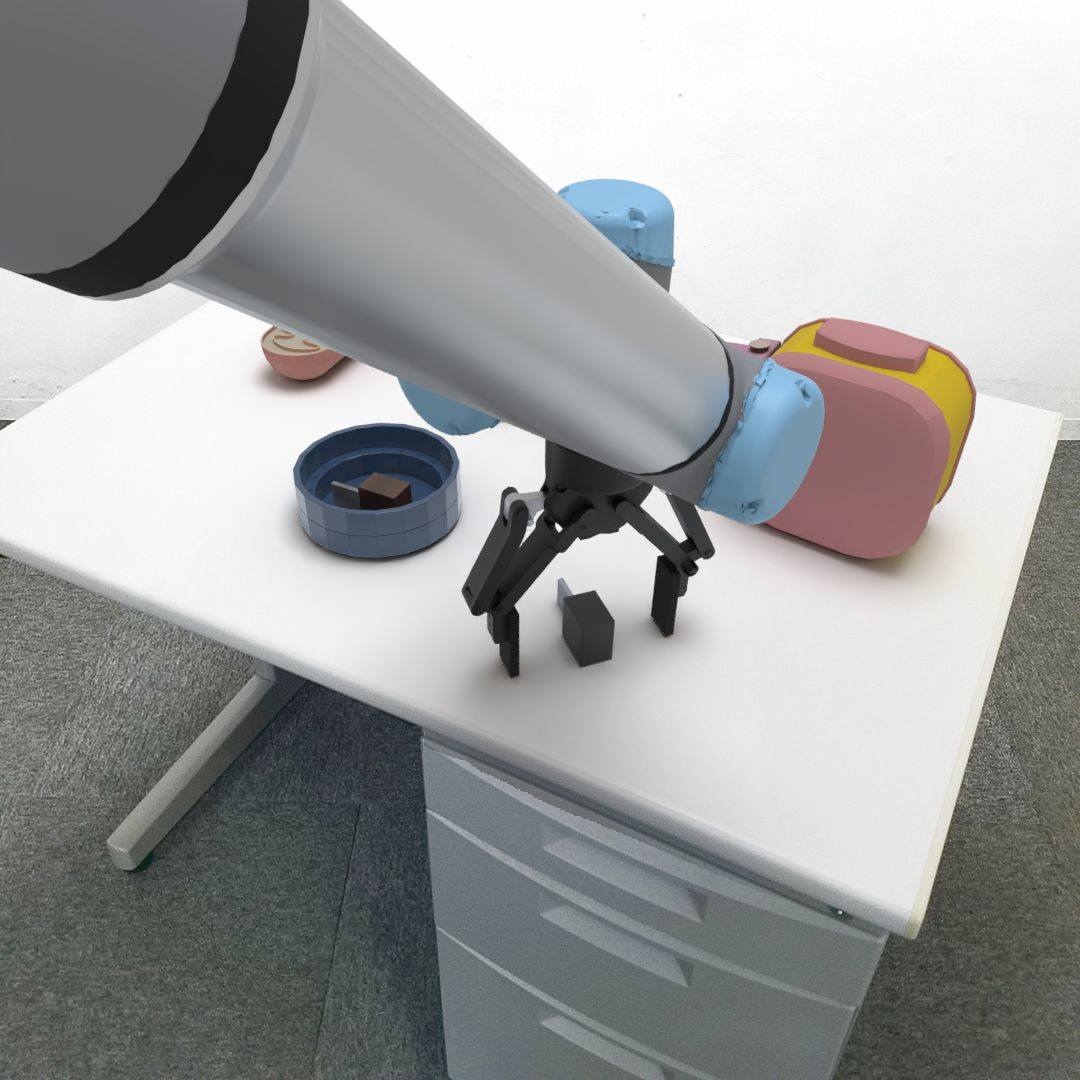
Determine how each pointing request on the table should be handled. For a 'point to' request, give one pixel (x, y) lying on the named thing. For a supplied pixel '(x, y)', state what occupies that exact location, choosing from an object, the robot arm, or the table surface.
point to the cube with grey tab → (586, 625)
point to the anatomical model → (296, 355)
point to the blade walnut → (373, 493)
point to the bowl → (389, 454)
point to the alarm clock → (876, 435)
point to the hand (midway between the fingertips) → (587, 644)
